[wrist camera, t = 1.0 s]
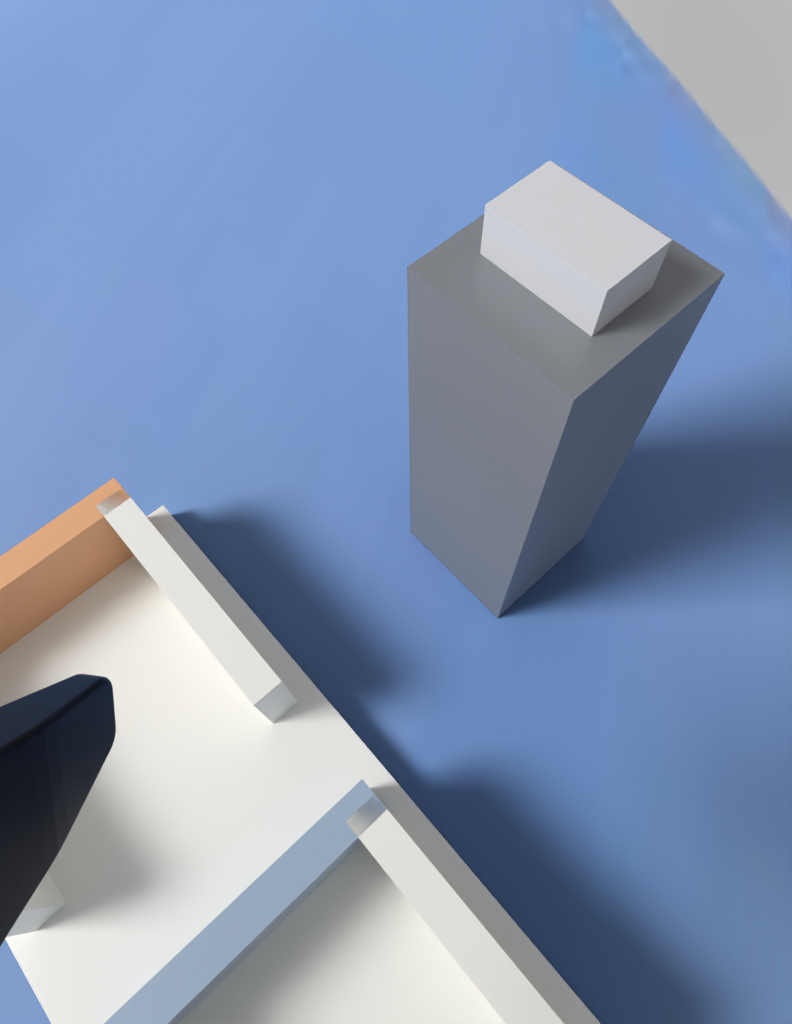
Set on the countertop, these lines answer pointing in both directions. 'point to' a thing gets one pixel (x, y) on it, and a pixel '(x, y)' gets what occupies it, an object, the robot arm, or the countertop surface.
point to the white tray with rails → (233, 817)
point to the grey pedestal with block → (537, 373)
